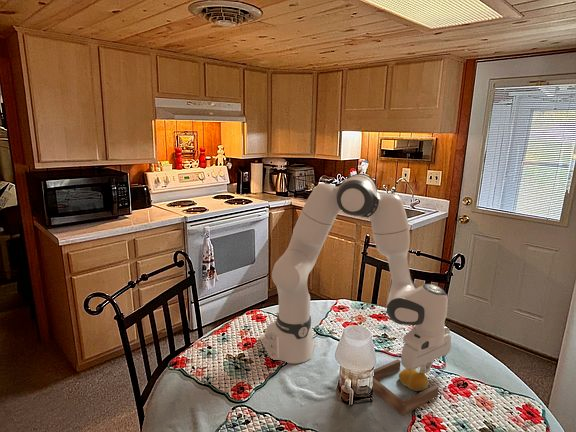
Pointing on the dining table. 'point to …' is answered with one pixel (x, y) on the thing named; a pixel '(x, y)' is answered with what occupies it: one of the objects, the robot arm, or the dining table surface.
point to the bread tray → (391, 398)
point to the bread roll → (413, 379)
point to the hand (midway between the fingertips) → (424, 371)
